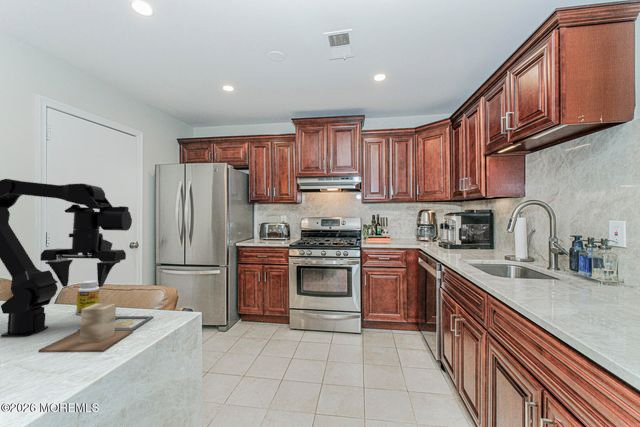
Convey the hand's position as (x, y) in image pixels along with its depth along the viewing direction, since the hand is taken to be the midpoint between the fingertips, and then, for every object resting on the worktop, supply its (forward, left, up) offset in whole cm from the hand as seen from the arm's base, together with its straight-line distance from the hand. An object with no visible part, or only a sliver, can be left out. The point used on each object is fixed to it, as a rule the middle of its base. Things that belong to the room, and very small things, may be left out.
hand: (83, 286), depth 80 cm
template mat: (+7, +5, -12) cm, 15 cm away
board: (+7, -7, -12) cm, 16 cm away
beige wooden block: (+9, -7, -11) cm, 16 cm away
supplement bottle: (-9, +16, -12) cm, 22 cm away
